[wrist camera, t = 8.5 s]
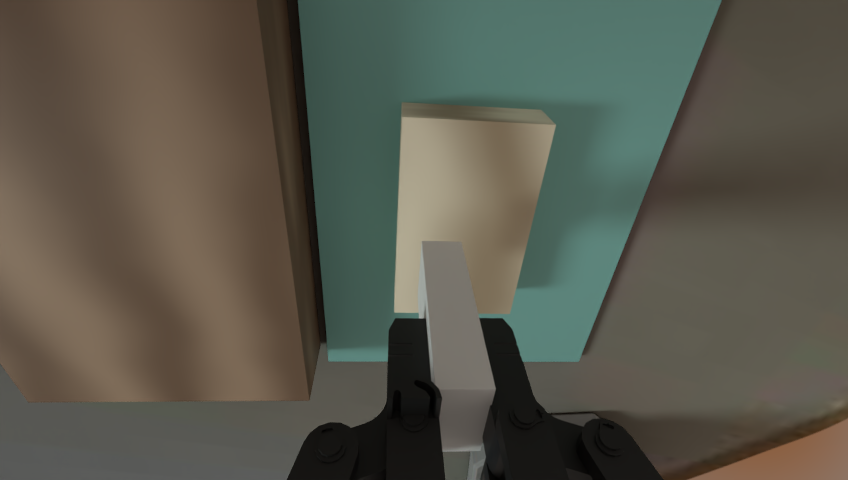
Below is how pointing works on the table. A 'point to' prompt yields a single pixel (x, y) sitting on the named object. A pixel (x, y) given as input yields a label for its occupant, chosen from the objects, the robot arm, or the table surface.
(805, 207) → the table surface
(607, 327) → the table surface
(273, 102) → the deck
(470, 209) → the tile
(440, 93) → the mat
